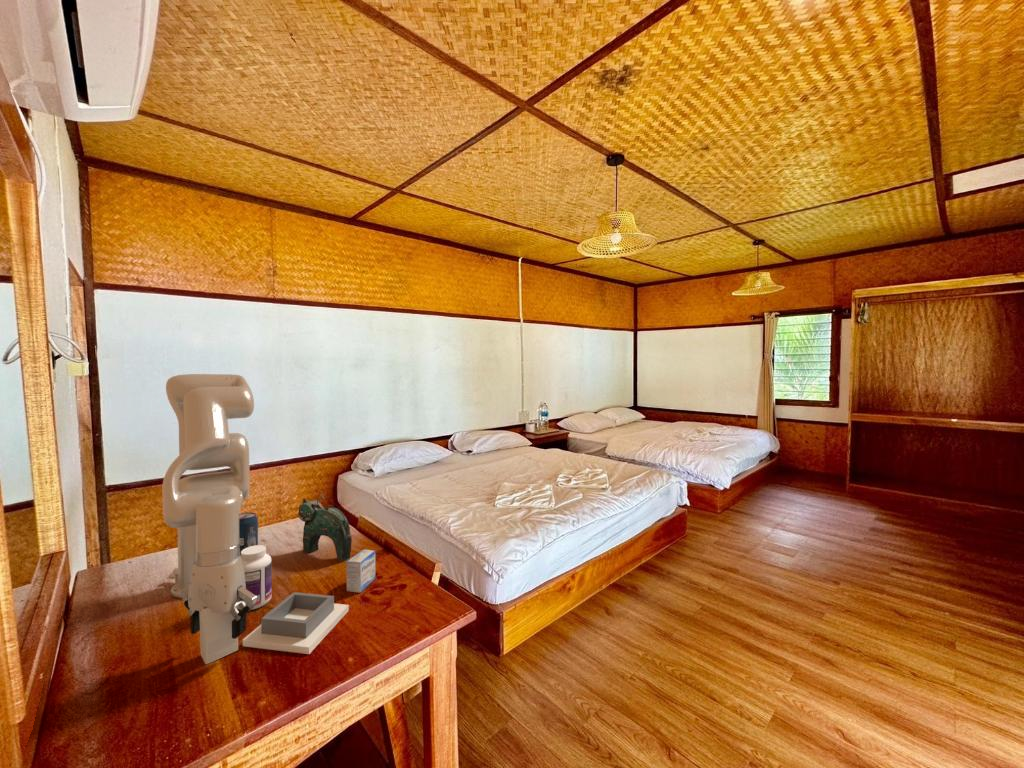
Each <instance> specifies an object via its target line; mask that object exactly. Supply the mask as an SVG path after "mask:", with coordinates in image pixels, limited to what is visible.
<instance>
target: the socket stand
mask: <svg viewBox="0 0 1024 768" xmlns="http://www.w3.org/2000/svg"><path fill="white" fill-rule="evenodd" d="M349 610H350V605H349V604H345V603H344V604H342V603H335V596H334V595H327V594H319V593H318V594H316V593H305V592H296V591H294V592H292V593H291V594H290V595H288V596H287V597H286V598H285V599H284V600H282V601H281V602H279V604H278V605H276V606H275V607H274V608H272V609H271V610H270V611H268V612H267V613H266V614H264V616H262V617H261V619H260V620H261V622H260V625H258V626H257V627H256V628H255V629H254V630H252V631H251V632H250V633H249V634H248V635H246V636H245V637H243V638H242V647H245V648H254V649H255V648H256V649H263V650H272V651H280V652H286V653H287V652H288V653H297V654H306V655H310V654H311V653H312V652H313V651H314V650H315V648H316V647H317V646H318V645H319V644H320V643H321V642H322V641H323V640H324V638H325V637H326V636H327V635H328V634H329V633H330V632H331V631H332V630H333V629H334V628H335V627H336V625H337V624H338V623H339V622H340V621H341V620H342V619H343V618H344V617H345V616H346V614H347V613H348V612H349Z"/></svg>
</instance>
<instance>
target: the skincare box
mask: <svg viewBox="0 0 1024 768" xmlns="http://www.w3.org/2000/svg"><path fill="white" fill-rule="evenodd" d="M236 603H237V602H236ZM236 609H237V610H238V608H237V607H236ZM199 616H200V630H199V635H200V636H199V640H200V644H199V646H200V656H201V658H202V660H203V663H204V664H205V665H208V664H211V663H213V662H215V661H217V660H219V659H222V658H224V657H226V656H228V655H230V654H232V653H235V652H237V651H238V650H239V636H238V637H237V638H236V639H233V638H232V621H233V620H234V617H233V616H232V614H231V613H230V612H228V613H213V612H211V611H210V608H208V607H202V611H199Z"/></svg>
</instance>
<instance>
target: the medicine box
mask: <svg viewBox="0 0 1024 768" xmlns="http://www.w3.org/2000/svg"><path fill="white" fill-rule="evenodd" d="M375 579H376V550H371V549H362V550H360V551H359V552H358V553H356V554H355V555H353V556H352V557H350V558H349V559H347V560H346V591H347V592H351V593H352V592H353V593H360V594H361V593H362V592H363V591H364V590H365V589H366V588H367V587H369V585H370V584H371V583H373V581H374V580H375Z"/></svg>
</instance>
